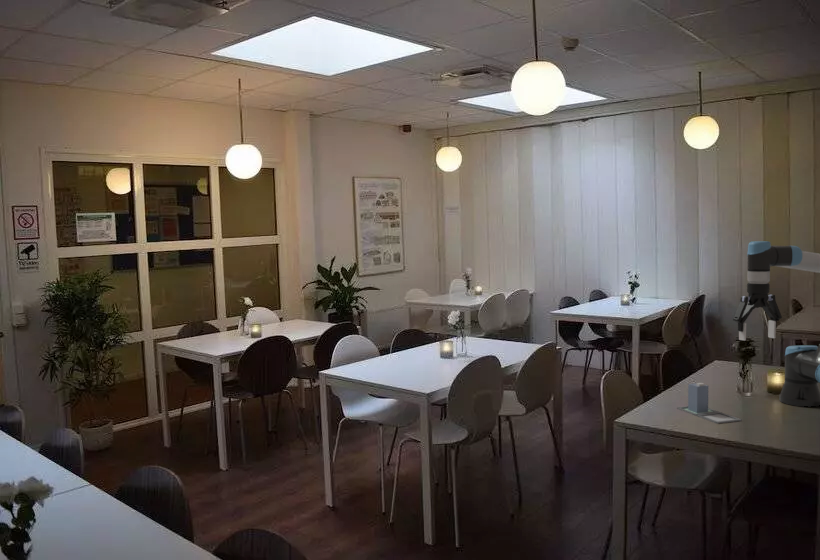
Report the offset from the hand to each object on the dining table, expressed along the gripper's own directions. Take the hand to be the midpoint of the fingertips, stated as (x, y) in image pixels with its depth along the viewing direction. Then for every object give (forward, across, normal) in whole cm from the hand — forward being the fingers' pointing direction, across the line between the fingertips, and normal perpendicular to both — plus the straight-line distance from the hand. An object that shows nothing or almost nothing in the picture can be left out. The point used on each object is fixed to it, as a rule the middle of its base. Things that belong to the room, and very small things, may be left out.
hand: (757, 339), depth 257 cm
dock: (+29, +20, -2) cm, 35 cm away
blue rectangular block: (+27, +20, -8) cm, 35 cm away
